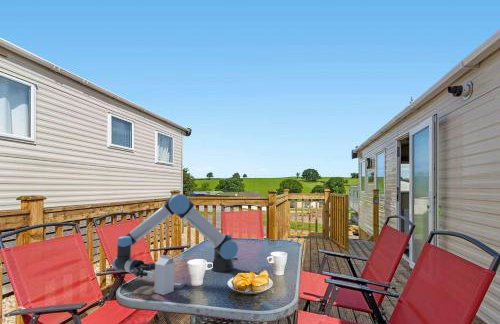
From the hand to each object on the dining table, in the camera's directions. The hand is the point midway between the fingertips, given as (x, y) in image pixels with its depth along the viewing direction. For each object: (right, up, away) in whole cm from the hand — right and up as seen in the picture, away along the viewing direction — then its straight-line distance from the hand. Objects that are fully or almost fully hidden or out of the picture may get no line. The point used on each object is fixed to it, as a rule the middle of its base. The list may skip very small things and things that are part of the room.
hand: (162, 272), depth 165 cm
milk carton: (+1, -11, -1) cm, 11 cm away
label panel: (+2, -11, +9) cm, 14 cm away
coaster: (-9, -10, +1) cm, 14 cm away
